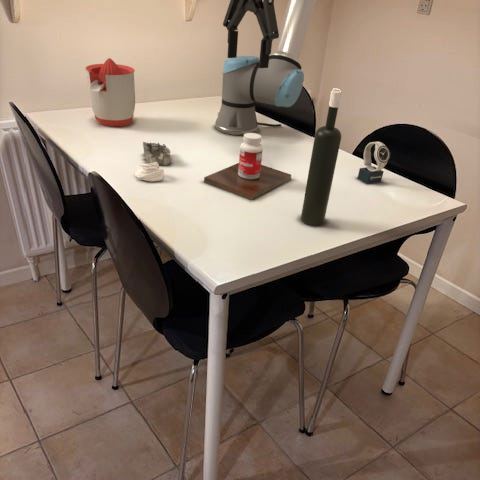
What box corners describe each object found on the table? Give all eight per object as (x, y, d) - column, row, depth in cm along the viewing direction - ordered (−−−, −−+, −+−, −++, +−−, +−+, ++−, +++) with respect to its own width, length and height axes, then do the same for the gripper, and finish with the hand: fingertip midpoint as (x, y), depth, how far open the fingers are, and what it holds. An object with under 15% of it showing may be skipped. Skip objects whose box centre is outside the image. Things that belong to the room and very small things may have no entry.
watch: (371, 186, 138) (380, 148, 131) (353, 176, 144) (362, 139, 137) (385, 184, 141) (396, 146, 134) (367, 174, 146) (376, 137, 139)
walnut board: (245, 164, 144) (246, 159, 143) (290, 179, 138) (291, 174, 137) (203, 182, 131) (204, 177, 130) (251, 200, 124) (252, 194, 123)
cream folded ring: (138, 186, 128) (136, 169, 124) (132, 174, 132) (130, 158, 129) (167, 182, 130) (166, 165, 127) (160, 170, 134) (159, 154, 131)
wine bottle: (311, 213, 121) (335, 84, 102) (328, 222, 118) (356, 90, 99) (295, 218, 118) (317, 86, 99) (313, 228, 114) (338, 93, 96)
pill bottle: (233, 175, 133) (236, 134, 126) (247, 170, 137) (250, 130, 130) (250, 182, 130) (254, 140, 123) (264, 176, 134) (268, 136, 127)
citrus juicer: (78, 124, 162) (70, 58, 149) (108, 113, 175) (103, 51, 162) (118, 133, 158) (112, 66, 145) (145, 121, 170) (143, 58, 158)
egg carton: (171, 166, 139) (171, 152, 136) (145, 166, 137) (144, 152, 135) (167, 153, 147) (167, 139, 144) (142, 153, 145) (142, 139, 143)
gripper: (212, -38, 124) (209, 54, 137) (277, -30, 109) (267, 73, 122) (235, -37, 128) (230, 53, 141) (300, -28, 113) (288, 71, 126)
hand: (247, 62), depth 131 cm, fingers open, 13 cm apart
